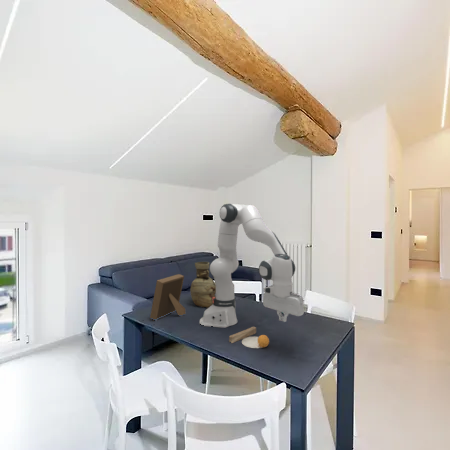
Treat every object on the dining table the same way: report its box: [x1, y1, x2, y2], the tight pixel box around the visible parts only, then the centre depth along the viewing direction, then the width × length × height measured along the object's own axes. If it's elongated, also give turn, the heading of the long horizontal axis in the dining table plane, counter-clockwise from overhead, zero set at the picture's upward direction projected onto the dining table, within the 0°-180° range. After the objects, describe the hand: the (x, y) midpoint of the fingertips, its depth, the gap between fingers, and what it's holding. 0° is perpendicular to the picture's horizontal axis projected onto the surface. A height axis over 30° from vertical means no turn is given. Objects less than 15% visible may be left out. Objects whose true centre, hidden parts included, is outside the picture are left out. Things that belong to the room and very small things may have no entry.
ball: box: [258, 334, 270, 348], centre depth 138 cm, size 6×6×6 cm
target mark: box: [241, 336, 263, 349], centre depth 143 cm, size 13×13×1 cm
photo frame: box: [149, 273, 186, 319], centre depth 182 cm, size 15×22×25 cm
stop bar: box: [228, 326, 257, 344], centre depth 149 cm, size 2×18×3 cm, turn 133°
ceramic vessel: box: [189, 261, 216, 309], centre depth 207 cm, size 19×21×30 cm
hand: (282, 320), depth 130 cm, fingers closed
